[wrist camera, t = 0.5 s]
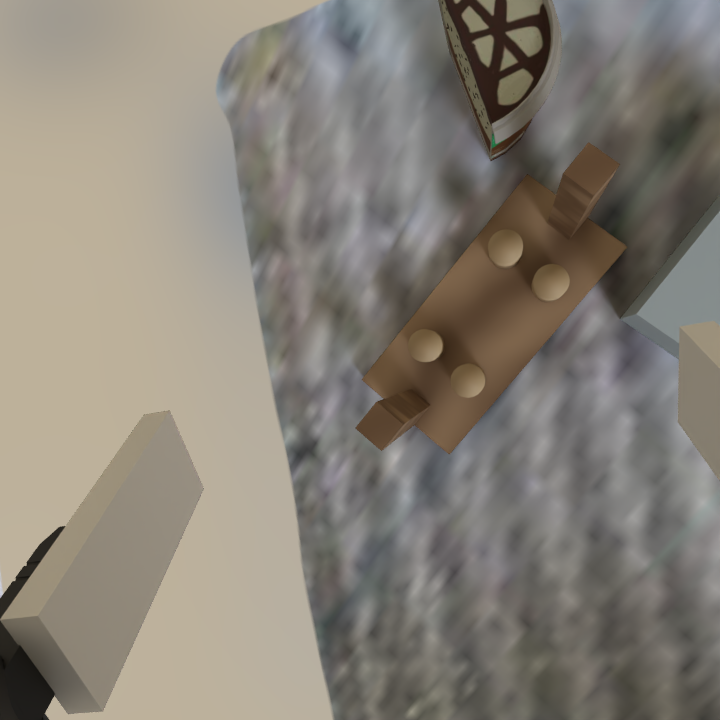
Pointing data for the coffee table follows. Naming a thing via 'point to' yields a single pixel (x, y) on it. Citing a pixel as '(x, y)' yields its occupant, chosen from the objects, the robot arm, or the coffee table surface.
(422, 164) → the coffee table surface
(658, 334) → the shelf board
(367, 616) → the coffee table surface
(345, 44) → the coffee table surface
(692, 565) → the coffee table surface
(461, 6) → the food container
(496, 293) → the peg stand
